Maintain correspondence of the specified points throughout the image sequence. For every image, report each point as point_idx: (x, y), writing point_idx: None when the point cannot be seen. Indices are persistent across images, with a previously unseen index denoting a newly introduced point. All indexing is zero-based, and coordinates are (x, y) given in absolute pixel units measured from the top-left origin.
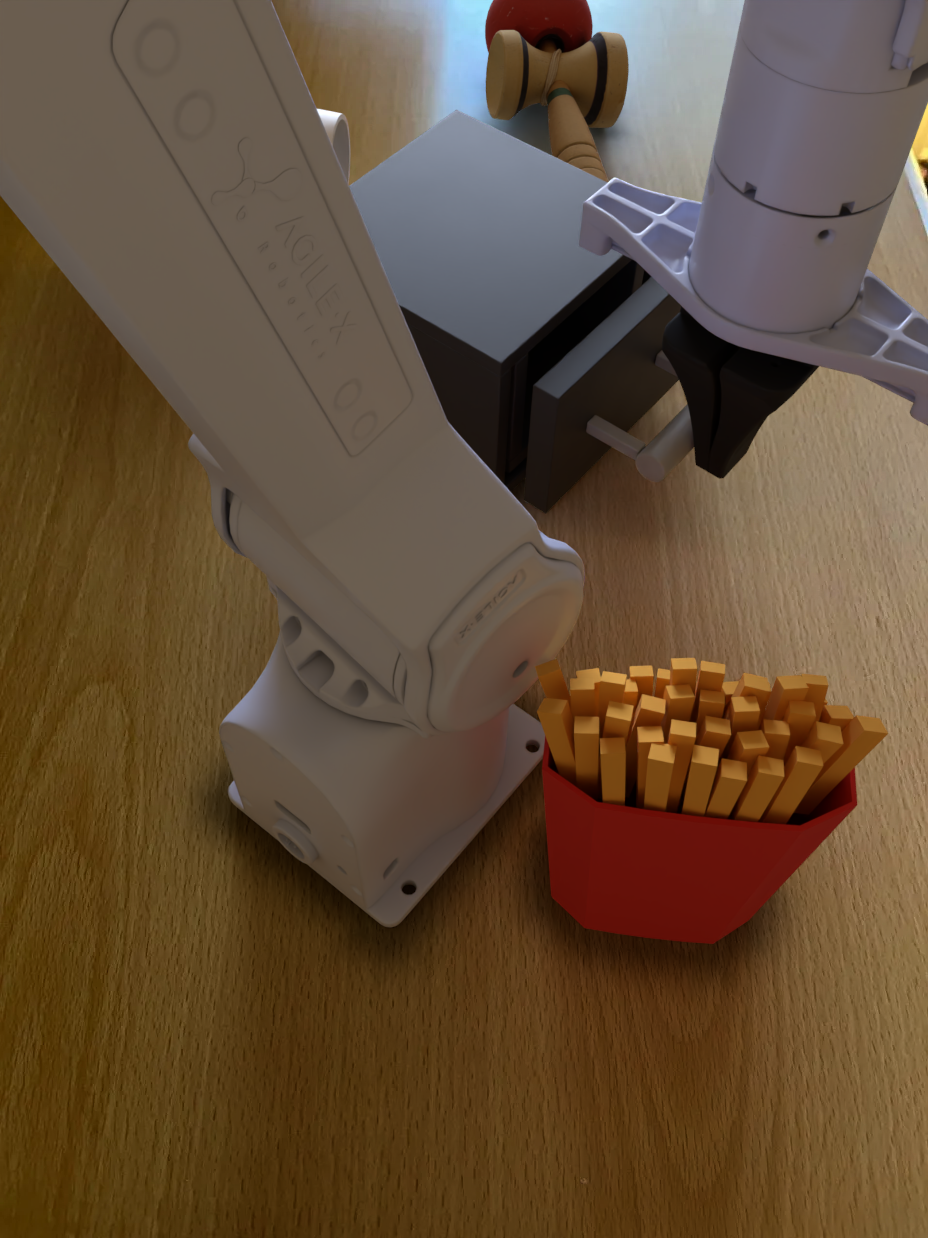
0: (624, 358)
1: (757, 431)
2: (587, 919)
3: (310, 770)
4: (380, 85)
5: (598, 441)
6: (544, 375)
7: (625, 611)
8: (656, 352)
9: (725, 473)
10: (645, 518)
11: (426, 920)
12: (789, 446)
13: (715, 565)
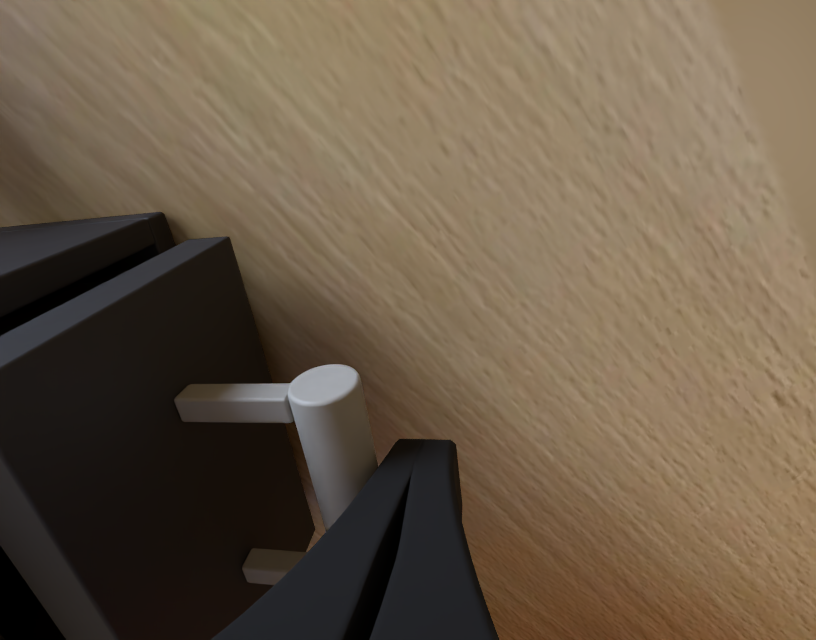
0: (173, 588)
1: (454, 474)
2: None
3: None
4: None
5: (271, 485)
6: None
7: (472, 544)
8: (178, 428)
9: (461, 511)
10: (395, 439)
11: None
12: (461, 186)
13: (515, 447)
